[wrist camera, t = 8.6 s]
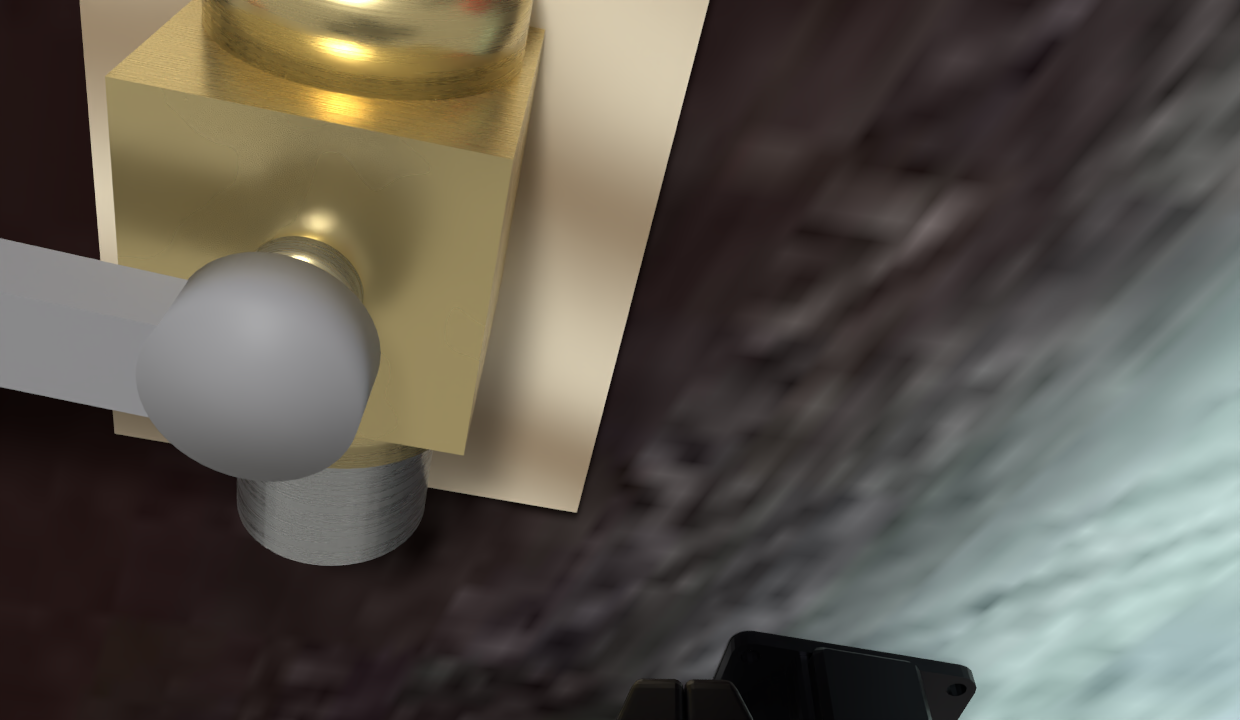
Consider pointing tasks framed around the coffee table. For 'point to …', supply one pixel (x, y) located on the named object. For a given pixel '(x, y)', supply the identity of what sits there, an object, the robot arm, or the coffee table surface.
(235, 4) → the valve
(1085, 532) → the coffee table surface
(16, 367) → the valve lever
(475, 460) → the valve board
